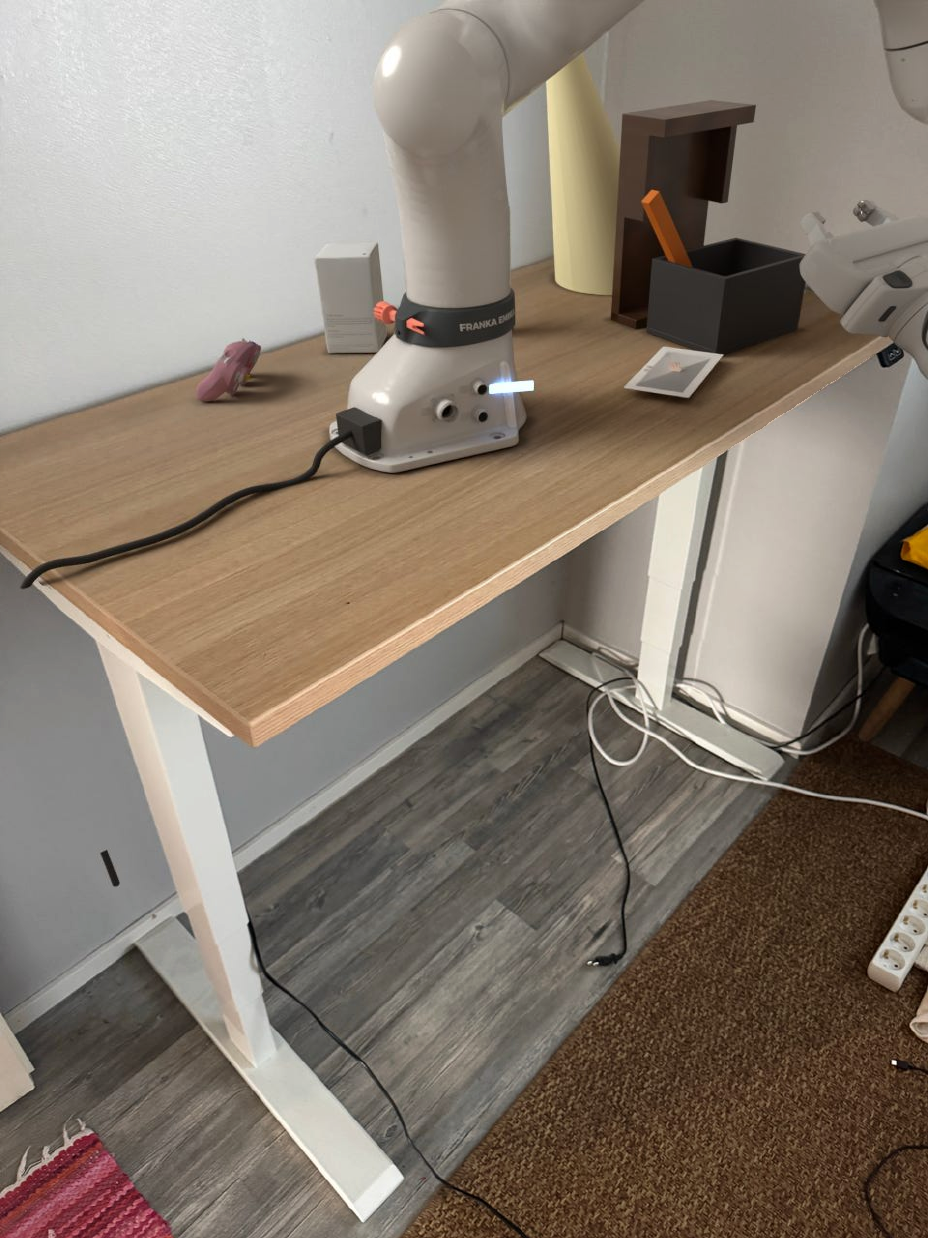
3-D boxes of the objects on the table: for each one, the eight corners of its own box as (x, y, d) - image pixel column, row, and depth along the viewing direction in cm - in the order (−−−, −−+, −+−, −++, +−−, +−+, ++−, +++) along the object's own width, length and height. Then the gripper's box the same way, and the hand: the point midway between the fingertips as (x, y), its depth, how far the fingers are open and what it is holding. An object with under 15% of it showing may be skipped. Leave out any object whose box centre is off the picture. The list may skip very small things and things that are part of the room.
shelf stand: (648, 333, 125) (666, 119, 110) (610, 319, 130) (622, 113, 115) (729, 308, 132) (756, 104, 117) (689, 297, 137) (710, 99, 122)
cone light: (607, 256, 157) (620, 12, 137) (693, 276, 146) (721, 14, 125) (502, 287, 145) (499, 25, 124) (587, 312, 133) (599, 27, 113)
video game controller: (225, 416, 111) (240, 367, 107) (191, 399, 111) (204, 349, 106) (256, 385, 119) (271, 339, 115) (224, 369, 118) (238, 321, 114)
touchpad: (722, 363, 115) (724, 346, 114) (687, 406, 105) (689, 388, 103) (662, 354, 118) (663, 338, 117) (622, 396, 108) (623, 378, 106)
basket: (715, 357, 117) (725, 278, 111) (646, 332, 125) (652, 258, 120) (797, 330, 124) (811, 254, 118) (726, 308, 132) (736, 237, 127)
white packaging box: (388, 335, 128) (380, 240, 121) (379, 354, 122) (370, 255, 115) (337, 335, 129) (325, 241, 122) (325, 354, 123) (312, 256, 116)
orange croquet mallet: (657, 221, 108) (628, 214, 111) (711, 340, 123) (684, 331, 127) (693, 181, 108) (662, 175, 112) (742, 305, 123) (714, 296, 127)
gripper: (987, 255, 103) (907, 173, 107) (874, 291, 94) (791, 200, 98) (947, 298, 108) (872, 219, 112) (837, 336, 99) (760, 248, 103)
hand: (834, 210), depth 105 cm, fingers open, 8 cm apart
